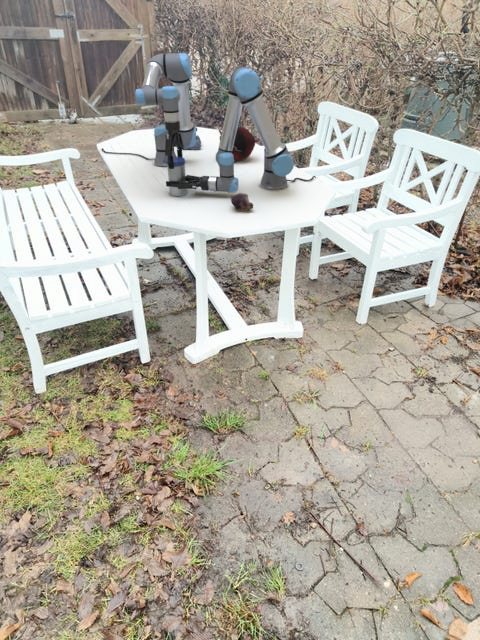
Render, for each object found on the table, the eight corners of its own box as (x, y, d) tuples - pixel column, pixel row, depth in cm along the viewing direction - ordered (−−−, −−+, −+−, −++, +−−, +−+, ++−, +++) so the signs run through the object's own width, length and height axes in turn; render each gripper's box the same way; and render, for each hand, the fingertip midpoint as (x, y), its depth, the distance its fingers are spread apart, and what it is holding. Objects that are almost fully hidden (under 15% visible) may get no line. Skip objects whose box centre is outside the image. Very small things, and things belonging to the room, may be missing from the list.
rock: (244, 206, 231) (227, 209, 227) (243, 189, 228) (226, 192, 224) (256, 210, 222) (238, 213, 218) (255, 192, 218) (237, 195, 214)
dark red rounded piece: (216, 132, 305) (216, 129, 282) (250, 124, 304) (252, 121, 281) (223, 164, 312) (223, 164, 288) (256, 157, 311) (259, 156, 288)
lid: (189, 163, 237) (188, 159, 236) (175, 167, 231) (174, 163, 230) (176, 159, 243) (176, 155, 242) (162, 163, 237) (162, 159, 235)
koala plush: (201, 150, 322) (199, 120, 311) (176, 150, 321) (173, 121, 310) (201, 144, 336) (199, 116, 325) (177, 144, 335) (174, 116, 324)
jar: (174, 197, 241) (171, 163, 231) (167, 192, 247) (164, 159, 237) (189, 194, 245) (187, 161, 235) (182, 189, 251) (179, 157, 241)
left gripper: (174, 116, 235) (178, 159, 248) (154, 125, 217) (159, 171, 229) (188, 117, 234) (191, 160, 246) (169, 126, 215) (173, 172, 227)
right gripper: (204, 197, 232) (163, 194, 237) (215, 184, 250) (176, 181, 254) (203, 182, 228) (161, 180, 232) (214, 170, 246) (175, 168, 250)
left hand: (176, 165), depth 238 cm, fingers open, 11 cm apart
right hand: (169, 180), depth 243 cm, fingers closed on jar, 9 cm apart
